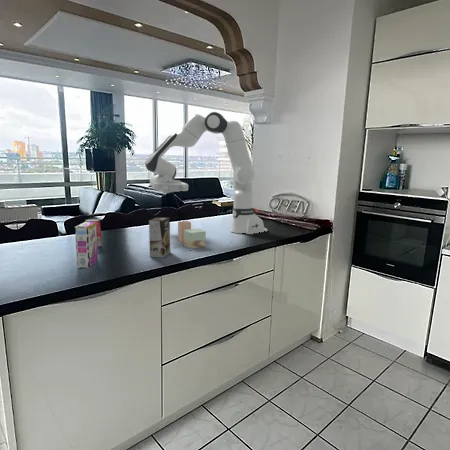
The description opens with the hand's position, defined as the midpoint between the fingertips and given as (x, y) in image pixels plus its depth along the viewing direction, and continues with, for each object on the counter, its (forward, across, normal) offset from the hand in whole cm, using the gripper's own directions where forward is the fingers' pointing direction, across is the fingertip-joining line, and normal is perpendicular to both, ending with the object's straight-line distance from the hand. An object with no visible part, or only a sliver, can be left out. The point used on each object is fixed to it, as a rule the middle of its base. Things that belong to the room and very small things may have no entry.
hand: (176, 188), depth 179 cm
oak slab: (+24, 0, +25) cm, 35 cm away
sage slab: (+24, 0, +21) cm, 32 cm away
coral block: (+12, +1, +26) cm, 29 cm away
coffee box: (+30, -20, +26) cm, 45 cm away
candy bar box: (+29, -50, +28) cm, 64 cm away
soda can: (0, -41, +30) cm, 51 cm away
